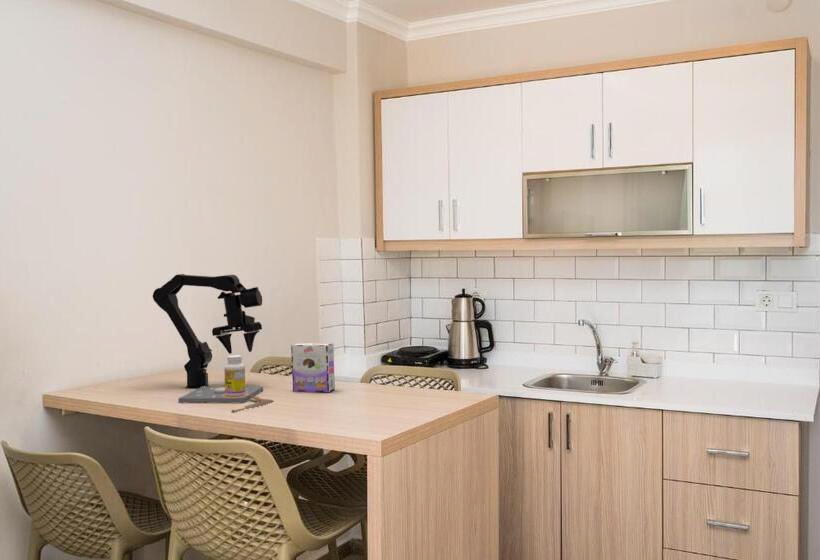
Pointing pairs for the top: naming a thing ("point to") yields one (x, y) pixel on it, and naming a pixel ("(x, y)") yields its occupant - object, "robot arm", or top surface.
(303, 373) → the candy box
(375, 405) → the top surface
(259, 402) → the brown flat branched piece
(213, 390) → the dial board
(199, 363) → the robot arm
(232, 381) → the supplement bottle
